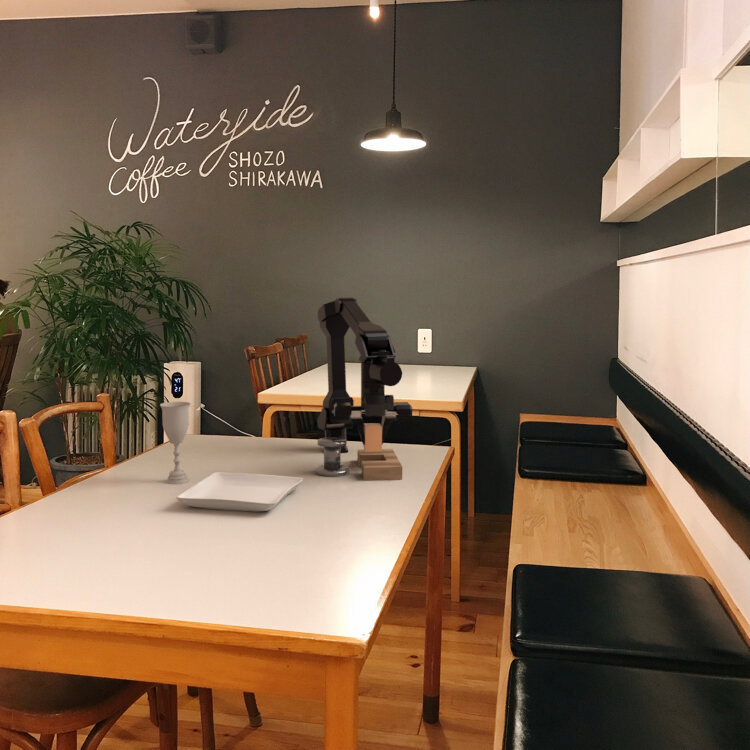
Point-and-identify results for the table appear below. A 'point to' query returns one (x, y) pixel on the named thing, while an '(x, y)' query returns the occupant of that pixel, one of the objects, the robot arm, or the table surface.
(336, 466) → the bobbin
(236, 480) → the salad plate
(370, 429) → the wooden block
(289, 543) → the table surface
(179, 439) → the chalice
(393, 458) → the notched board
